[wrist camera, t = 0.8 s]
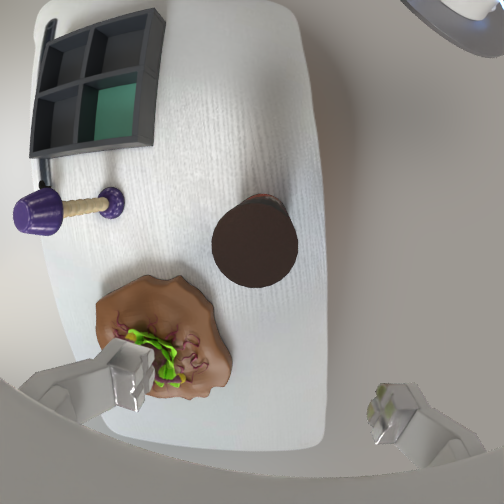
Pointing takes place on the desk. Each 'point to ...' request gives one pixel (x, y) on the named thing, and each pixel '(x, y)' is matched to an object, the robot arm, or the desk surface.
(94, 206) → the toy lamp
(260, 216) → the deodorant
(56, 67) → the compartment tray
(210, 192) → the desk surface
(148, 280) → the plant
